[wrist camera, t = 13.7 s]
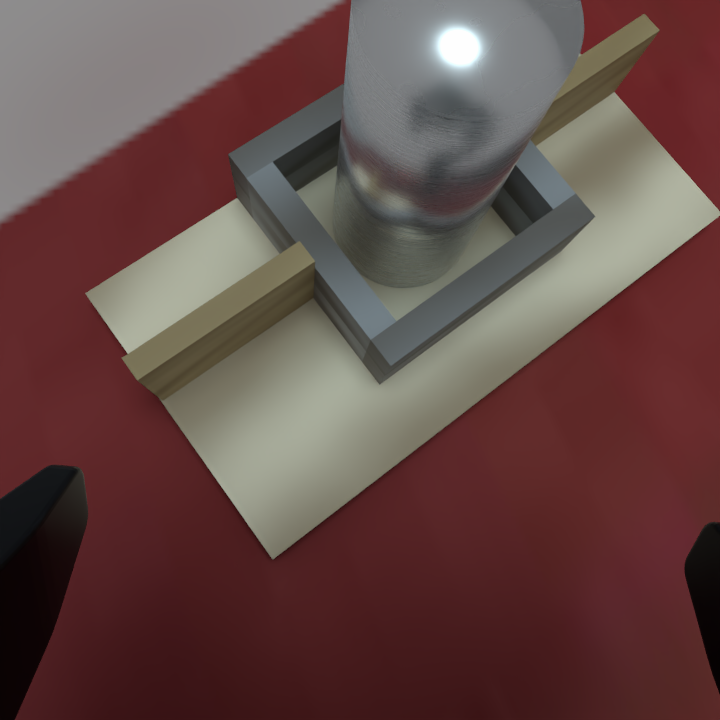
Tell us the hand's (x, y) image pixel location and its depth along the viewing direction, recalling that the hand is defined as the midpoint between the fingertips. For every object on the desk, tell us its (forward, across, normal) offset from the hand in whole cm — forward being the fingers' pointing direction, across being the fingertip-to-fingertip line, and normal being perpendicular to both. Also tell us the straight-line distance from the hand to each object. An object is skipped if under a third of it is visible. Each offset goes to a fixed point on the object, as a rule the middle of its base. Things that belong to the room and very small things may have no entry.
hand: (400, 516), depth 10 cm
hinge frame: (+16, -2, +3) cm, 17 cm away
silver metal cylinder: (+16, -1, +2) cm, 16 cm away
